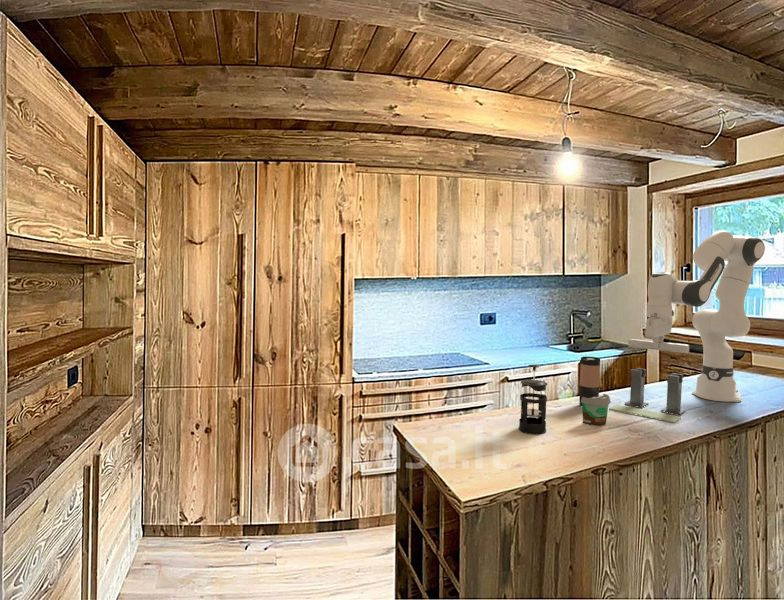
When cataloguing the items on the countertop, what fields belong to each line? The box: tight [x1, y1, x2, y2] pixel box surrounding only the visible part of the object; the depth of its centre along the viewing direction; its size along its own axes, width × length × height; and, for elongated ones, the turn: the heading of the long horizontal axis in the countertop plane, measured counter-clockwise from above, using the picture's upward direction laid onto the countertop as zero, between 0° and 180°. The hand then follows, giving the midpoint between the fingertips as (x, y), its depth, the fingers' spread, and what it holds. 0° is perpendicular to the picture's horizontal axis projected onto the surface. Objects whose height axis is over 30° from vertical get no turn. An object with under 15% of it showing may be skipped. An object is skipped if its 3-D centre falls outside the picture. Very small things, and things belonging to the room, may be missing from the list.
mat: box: [608, 404, 682, 424], centre depth 202 cm, size 8×24×1 cm, turn 45°
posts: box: [624, 367, 687, 416], centre depth 210 cm, size 7×21×15 cm, turn 45°
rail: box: [627, 338, 690, 354], centre depth 209 cm, size 3×22×3 cm, turn 45°
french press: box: [518, 364, 548, 435], centre depth 180 cm, size 12×9×23 cm
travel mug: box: [578, 356, 601, 407], centre depth 212 cm, size 8×8×20 cm
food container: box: [581, 393, 612, 427], centre depth 188 cm, size 12×6×10 cm, turn 117°
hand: (657, 346), depth 209 cm, fingers closed on rail, 3 cm apart
